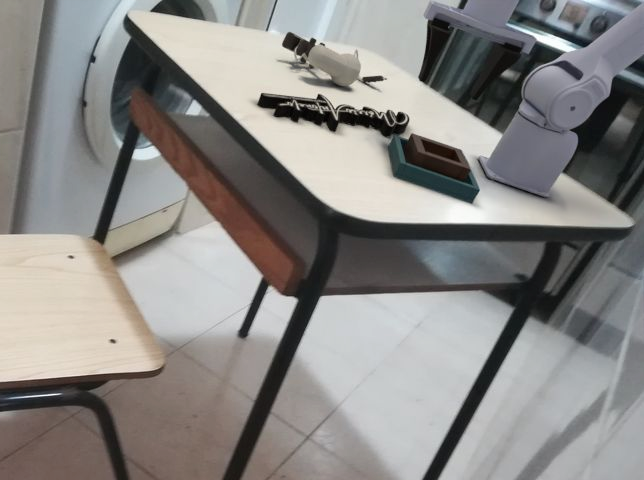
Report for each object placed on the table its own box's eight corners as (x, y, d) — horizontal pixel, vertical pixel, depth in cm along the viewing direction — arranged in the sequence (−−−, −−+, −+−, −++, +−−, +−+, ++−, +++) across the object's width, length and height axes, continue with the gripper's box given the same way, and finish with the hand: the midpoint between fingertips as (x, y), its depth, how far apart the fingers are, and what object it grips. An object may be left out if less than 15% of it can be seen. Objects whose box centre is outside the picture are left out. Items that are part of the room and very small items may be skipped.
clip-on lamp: (342, 85, 126) (273, 51, 115) (360, 51, 123) (291, 13, 112) (382, 107, 118) (312, 73, 107) (402, 71, 115) (332, 33, 104)
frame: (450, 169, 95) (461, 149, 93) (459, 189, 90) (471, 169, 88) (401, 152, 95) (411, 132, 93) (407, 172, 89) (418, 151, 87)
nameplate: (389, 102, 109) (429, 130, 103) (385, 111, 110) (424, 140, 104) (252, 85, 96) (287, 117, 90) (248, 96, 97) (283, 128, 91)
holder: (459, 172, 97) (466, 159, 96) (472, 203, 89) (480, 190, 87) (387, 147, 96) (394, 134, 95) (393, 176, 88) (400, 162, 87)
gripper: (547, -5, 88) (490, 96, 96) (443, -41, 87) (395, 64, 95) (563, 6, 82) (500, 112, 91) (452, -33, 81) (400, 78, 90)
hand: (447, 88), depth 93 cm, fingers open, 7 cm apart
